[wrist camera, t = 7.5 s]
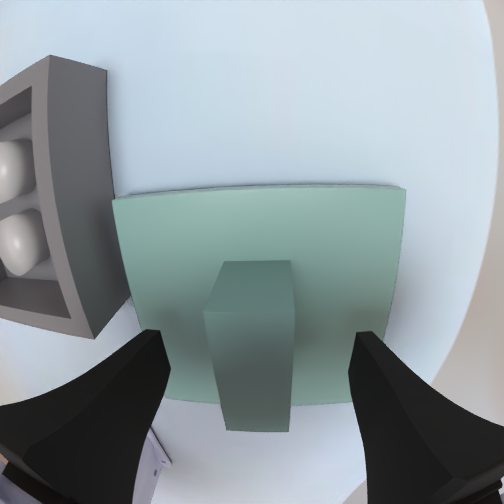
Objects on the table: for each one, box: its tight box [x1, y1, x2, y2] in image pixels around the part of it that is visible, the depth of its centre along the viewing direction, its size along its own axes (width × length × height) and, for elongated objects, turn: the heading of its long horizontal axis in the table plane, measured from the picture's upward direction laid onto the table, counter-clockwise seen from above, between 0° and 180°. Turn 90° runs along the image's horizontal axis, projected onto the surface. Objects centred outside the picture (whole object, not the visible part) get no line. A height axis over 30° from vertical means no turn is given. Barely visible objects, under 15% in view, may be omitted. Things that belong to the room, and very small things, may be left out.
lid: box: [112, 185, 406, 432], centre depth 11 cm, size 11×11×5 cm
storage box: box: [0, 55, 131, 340], centre depth 10 cm, size 11×11×4 cm
